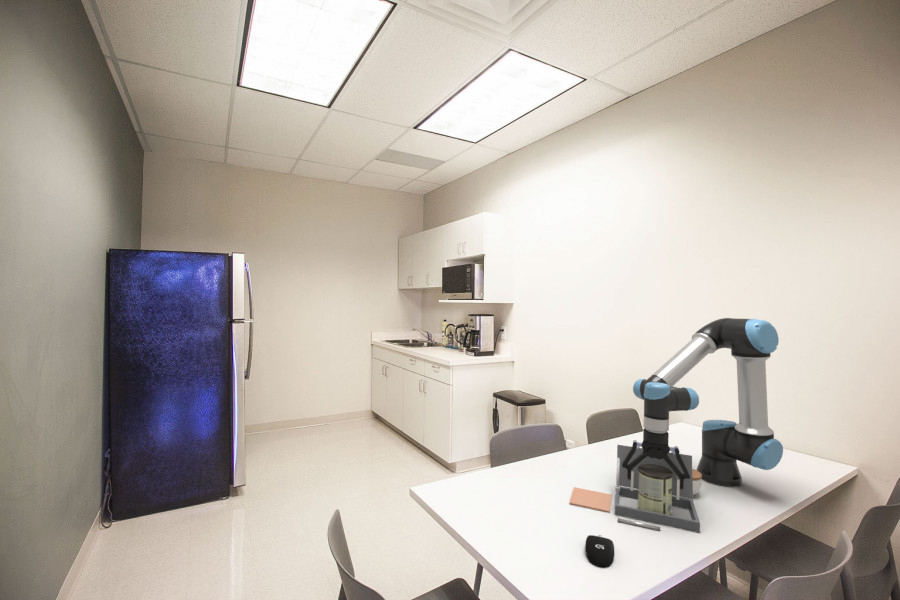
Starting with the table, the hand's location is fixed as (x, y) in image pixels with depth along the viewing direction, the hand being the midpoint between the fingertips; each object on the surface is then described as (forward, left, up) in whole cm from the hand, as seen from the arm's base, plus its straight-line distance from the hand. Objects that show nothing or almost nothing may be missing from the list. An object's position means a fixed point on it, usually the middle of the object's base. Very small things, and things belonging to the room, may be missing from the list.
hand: (654, 493), depth 136 cm
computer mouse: (+15, +33, -7) cm, 36 cm away
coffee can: (0, 0, -6) cm, 6 cm away
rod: (+5, +12, -6) cm, 14 cm away
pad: (+20, +1, -6) cm, 21 cm away
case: (0, -2, -6) cm, 6 cm away
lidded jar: (-11, -21, -6) cm, 25 cm away
